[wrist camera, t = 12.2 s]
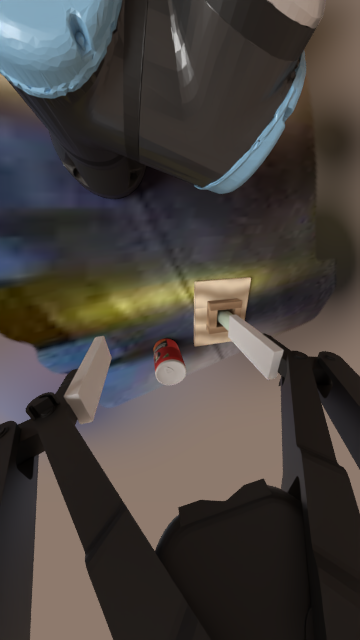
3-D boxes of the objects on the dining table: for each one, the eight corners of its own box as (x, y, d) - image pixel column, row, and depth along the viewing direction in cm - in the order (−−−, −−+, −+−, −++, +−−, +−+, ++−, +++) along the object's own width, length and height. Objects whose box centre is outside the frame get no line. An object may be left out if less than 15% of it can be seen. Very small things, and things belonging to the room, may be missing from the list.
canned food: (161, 333, 46) (166, 356, 36) (183, 344, 49) (192, 368, 39) (148, 352, 47) (149, 379, 38) (169, 362, 51) (175, 389, 41)
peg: (213, 307, 46) (239, 329, 33) (226, 306, 46) (256, 327, 34) (212, 319, 47) (237, 345, 35) (224, 318, 48) (253, 342, 36)
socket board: (194, 281, 41) (198, 284, 38) (248, 277, 44) (257, 279, 40) (193, 344, 50) (197, 351, 46) (239, 337, 52) (246, 344, 49)
